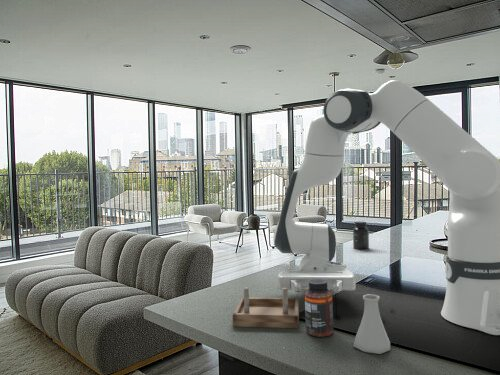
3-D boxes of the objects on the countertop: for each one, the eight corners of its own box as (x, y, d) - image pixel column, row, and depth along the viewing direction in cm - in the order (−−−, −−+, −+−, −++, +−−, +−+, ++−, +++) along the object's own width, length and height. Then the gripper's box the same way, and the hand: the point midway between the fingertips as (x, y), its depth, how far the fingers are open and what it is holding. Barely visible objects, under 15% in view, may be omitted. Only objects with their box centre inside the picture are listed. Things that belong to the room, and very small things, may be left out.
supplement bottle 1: (329, 326, 86) (328, 276, 86) (336, 337, 80) (335, 284, 80) (303, 327, 86) (302, 277, 86) (308, 338, 80) (307, 285, 80)
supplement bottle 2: (350, 248, 175) (349, 221, 174) (361, 246, 178) (361, 220, 177) (360, 250, 169) (359, 223, 168) (372, 248, 171) (371, 222, 171)
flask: (361, 335, 81) (361, 289, 81) (396, 344, 76) (395, 295, 76) (346, 348, 75) (346, 298, 75) (383, 358, 71) (382, 305, 70)
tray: (299, 309, 98) (298, 277, 97) (298, 328, 86) (297, 291, 85) (241, 308, 100) (240, 276, 99) (232, 326, 88) (231, 290, 87)
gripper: (277, 263, 109) (274, 276, 96) (351, 263, 107) (358, 276, 93) (278, 285, 110) (275, 301, 96) (351, 285, 107) (359, 302, 93)
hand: (316, 289), depth 94 cm, fingers open, 8 cm apart
